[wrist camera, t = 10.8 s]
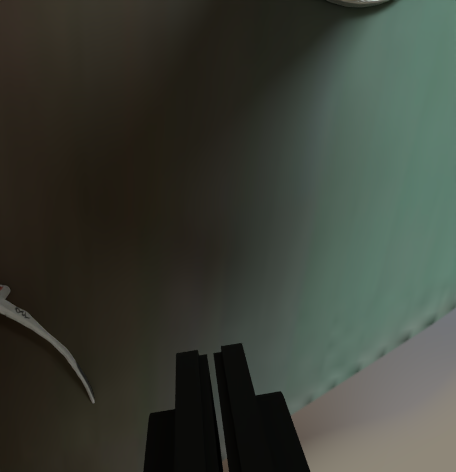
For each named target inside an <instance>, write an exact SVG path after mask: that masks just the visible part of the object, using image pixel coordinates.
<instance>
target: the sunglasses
mask: <svg viewBox="0 0 456 472" xmlns="http://www.w3.org/2000/svg"><path fill="white" fill-rule="evenodd" d="M10 292H11V291H10V288H9V287H8V286H6V285H1V284H0V313H1V314H3V315H5V314H6V316H7V317H9V318H11V319H13V320H15V321H17V322H19V323H21V324H22V325H24V326H26V327H28V328H29V329H31V330H33V331H34V332H36V333H37V334H39V335H40V336H42V337H43V338H44V339H46V340H47V341H49V342H50V343H51V344H52V345H53V346H54V347H55V348H56V349H57V350H58V351H59V352H60V353H61V354H63V355H64V357H65V358H66V359H67V361H68V362H69V364H70V365H71V366H72V368H73V369H74V370H75V372H76V373H77V375H78V376H79V378H80V379H81V381H82V383H83V384H84V386H85V388H86V390H87V392H88V395H89V397H90V400H91V402H92V403H95V401H94V395H93V391H92V388H91V385H90V383H89V381H88V379H87V377H86V376H85V374H84V372H83V371H82V369H81V368H80V366H79V365H78V363H77V362H76V360H75V359H74V358H73V356H72V355H71V353H70V352H69V351H68V349H67V348H66V347H65V346H63V345H62V344H61V343H60V342H59V341H58V340H56V339H55V338H54V337H53V336H52V335H51V334H49V333H48V332H47V331H46V330H45V329H44V328H43V327H42V326H41V325H40V324H39V323H38V322H37V321H36V320H35V319H34V318H33V317H32V316H31V315H30V314H29V313H28V312H26V311H24V310H22V309H20V308H18V307H16V306H15V305H13V304H12V303H10V302H8V301H7V300H5V299H6V298H7V296H8V295H9V293H10Z"/></svg>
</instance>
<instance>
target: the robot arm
mask: <svg viewBox="0 0 456 472" xmlns="http://www.w3.org/2000/svg"><path fill="white" fill-rule="evenodd" d="M327 1H329V2H331V3H335V4H338V5H342V6H346V7H368V6H374V5H379V4H382V3H384V2H387V1H389V0H327ZM213 354H214V361H215V369H216V376H217V384H218V392H219V399H220V407H221V414H222V422H223V429H224V437H225V445H226V452H227V460H228V467H229V472H310V469H309V466H308V464H307V461H306V458H305V455H304V453H303V450H302V447H301V444H300V441H299V438H298V436H297V433H296V430H295V427H294V424H293V421H292V419H291V416H290V413H289V410H288V407H287V404H286V402H285V399H284V396H283V394H282V392H281V391H280V392H274V393H268V394H262V395H256V396H255V392H254V388H253V384H252V381H251V377H250V373H249V369H248V365H247V361H246V357H245V353H244V350H243V346H242V343H238V344H232V345H226V346H221V352H219V353H213ZM143 472H223V466H222V458H221V449H220V441H219V434H218V427H217V421H216V414H215V407H214V400H213V393H212V387H211V380H210V373H209V366H208V359H207V354H206V355H200V356H199V354H198V350H194V351H188V352H182V353H177V354H176V394H175V409H173V410H167V411H161V412H155V413H151V414H150V416H149V422H148V432H147V441H146V451H145V461H144V471H143Z"/></svg>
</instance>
